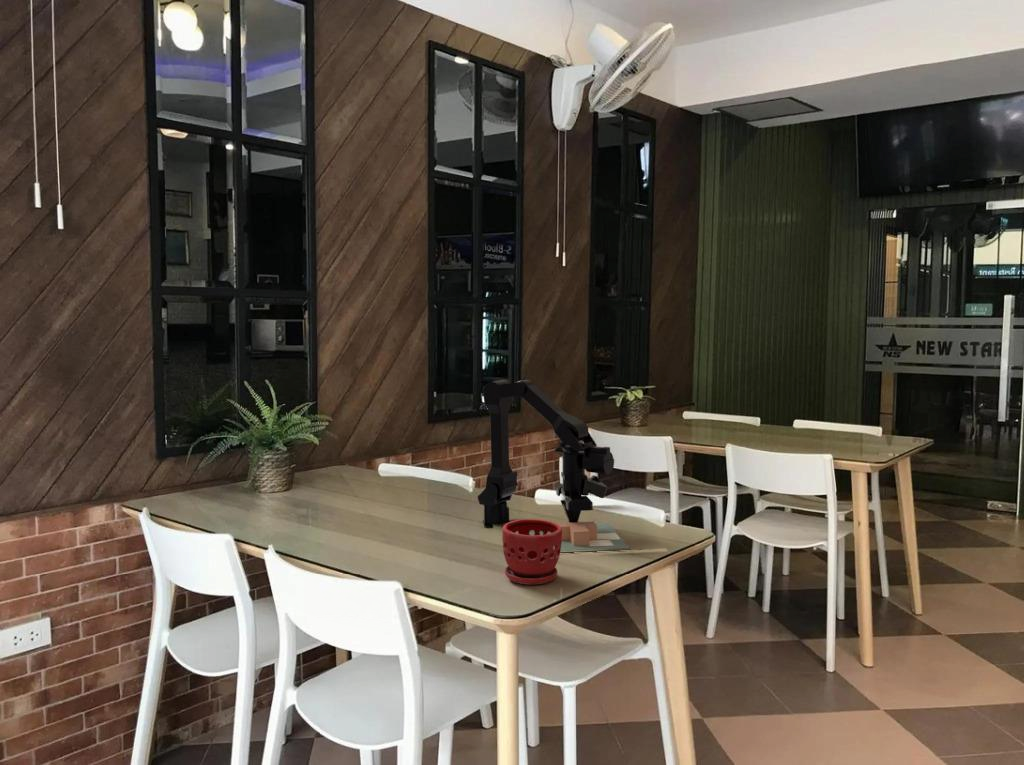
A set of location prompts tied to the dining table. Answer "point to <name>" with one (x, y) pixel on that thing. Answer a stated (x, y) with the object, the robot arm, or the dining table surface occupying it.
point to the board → (596, 540)
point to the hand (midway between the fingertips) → (573, 529)
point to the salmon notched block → (579, 532)
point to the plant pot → (531, 550)
